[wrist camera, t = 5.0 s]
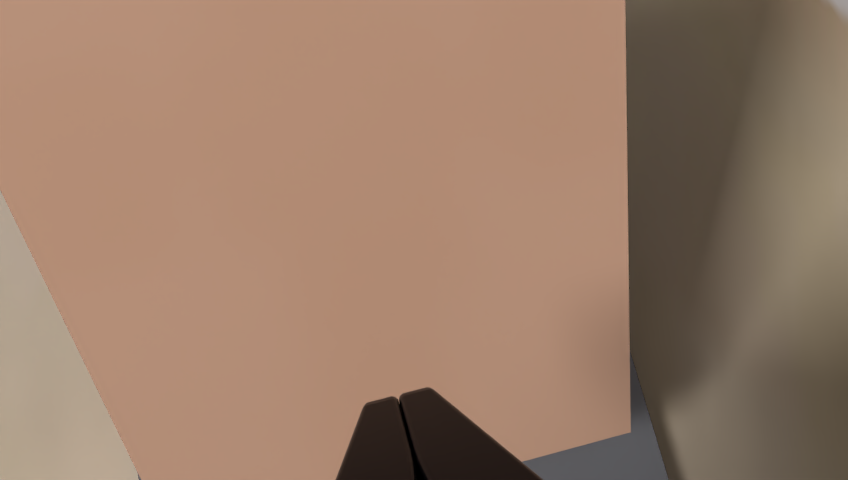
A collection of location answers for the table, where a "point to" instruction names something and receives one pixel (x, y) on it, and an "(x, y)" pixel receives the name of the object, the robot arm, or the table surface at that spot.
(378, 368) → the tile
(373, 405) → the robot arm
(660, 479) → the mat
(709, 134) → the table surface
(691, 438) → the table surface
